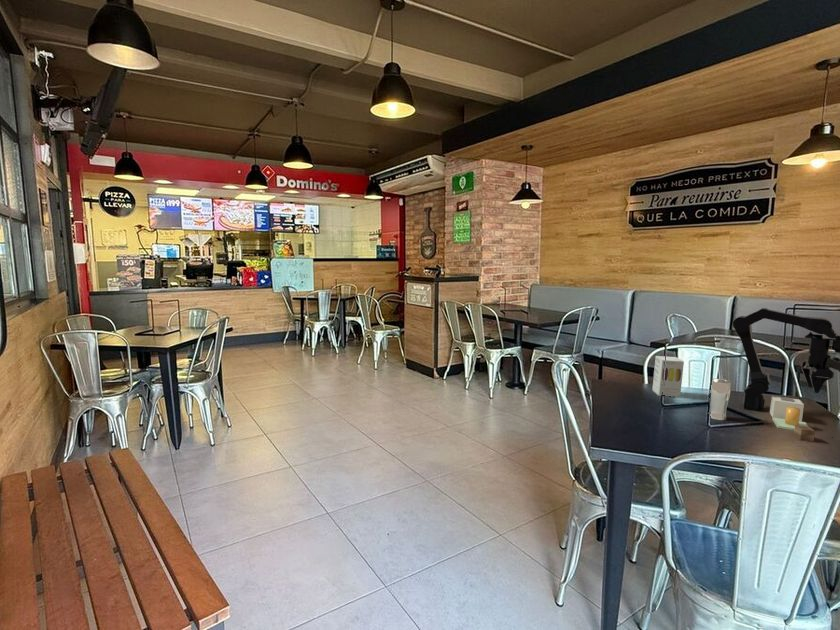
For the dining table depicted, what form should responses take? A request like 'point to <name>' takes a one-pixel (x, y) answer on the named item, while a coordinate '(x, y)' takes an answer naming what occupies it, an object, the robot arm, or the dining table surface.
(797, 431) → the walnut block
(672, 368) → the supplement box
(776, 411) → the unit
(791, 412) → the orange knob
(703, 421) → the dining table surface
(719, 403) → the beer glass
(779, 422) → the pad
